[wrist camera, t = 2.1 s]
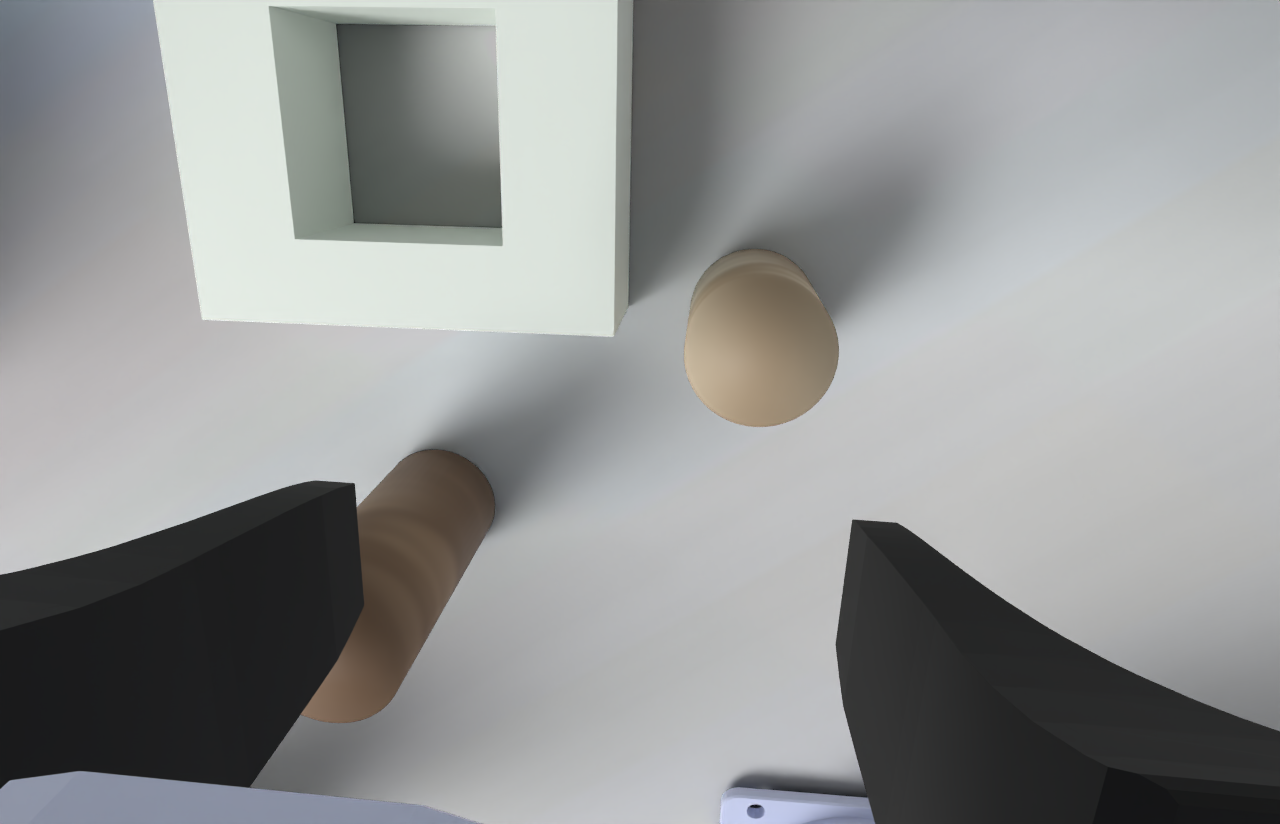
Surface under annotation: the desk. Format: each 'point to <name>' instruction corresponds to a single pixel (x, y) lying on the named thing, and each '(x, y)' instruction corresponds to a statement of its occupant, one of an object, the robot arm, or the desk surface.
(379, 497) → the long walnut peg
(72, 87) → the desk surface
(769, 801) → the robot arm
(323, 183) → the holder block
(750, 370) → the short maple peg
